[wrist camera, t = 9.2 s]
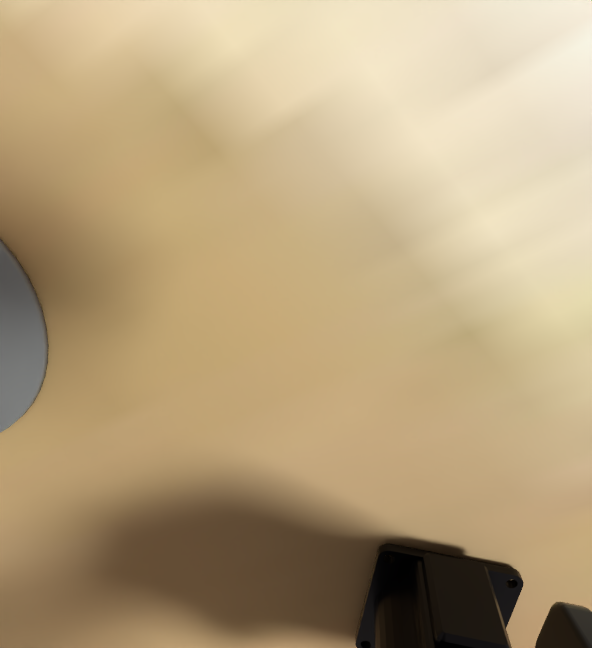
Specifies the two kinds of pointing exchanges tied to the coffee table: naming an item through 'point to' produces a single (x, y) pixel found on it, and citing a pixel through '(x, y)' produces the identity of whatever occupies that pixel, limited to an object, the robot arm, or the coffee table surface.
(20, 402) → the felt mat
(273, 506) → the coffee table surface
